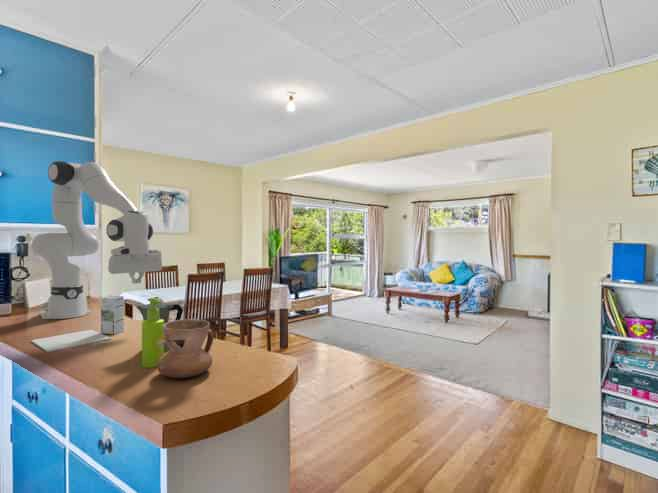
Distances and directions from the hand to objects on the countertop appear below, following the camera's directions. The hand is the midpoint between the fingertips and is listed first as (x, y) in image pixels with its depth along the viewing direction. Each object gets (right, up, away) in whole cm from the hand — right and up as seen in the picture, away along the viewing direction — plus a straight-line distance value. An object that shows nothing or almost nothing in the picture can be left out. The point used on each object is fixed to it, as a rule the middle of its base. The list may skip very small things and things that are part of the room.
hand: (136, 283), depth 144 cm
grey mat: (-14, -19, -18) cm, 29 cm away
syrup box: (-6, -19, -7) cm, 21 cm away
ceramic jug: (+39, -21, -45) cm, 63 cm away
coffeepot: (+22, -20, -26) cm, 40 cm away
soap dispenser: (+27, -21, -40) cm, 52 cm away
